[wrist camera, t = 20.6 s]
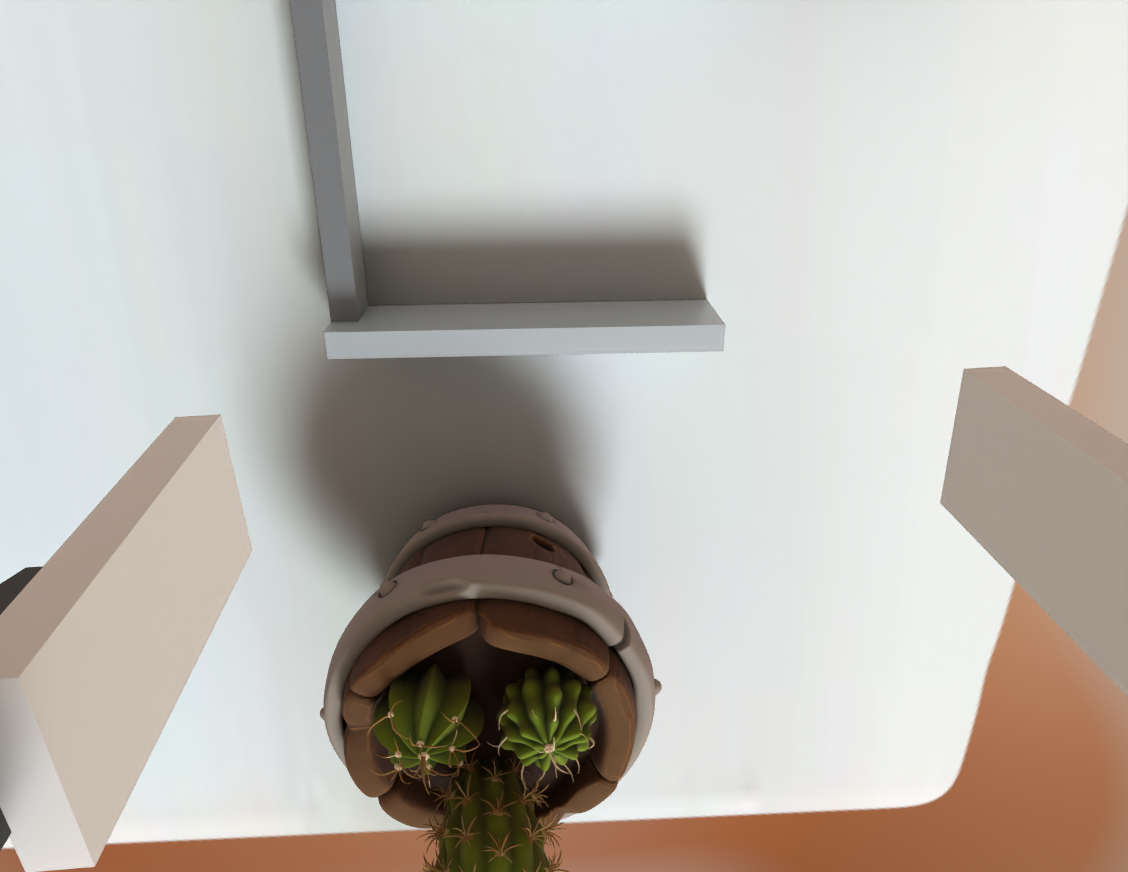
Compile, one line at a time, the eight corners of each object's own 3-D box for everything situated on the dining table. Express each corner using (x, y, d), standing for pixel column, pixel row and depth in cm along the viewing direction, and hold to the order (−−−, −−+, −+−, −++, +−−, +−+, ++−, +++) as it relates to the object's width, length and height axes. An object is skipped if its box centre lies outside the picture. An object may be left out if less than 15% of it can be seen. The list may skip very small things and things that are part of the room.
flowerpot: (348, 460, 42) (217, 766, 24) (647, 467, 43) (734, 768, 25) (363, 683, 49) (267, 1061, 30) (624, 685, 49) (682, 1054, 31)
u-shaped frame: (345, 330, 40) (327, 359, 36) (294, -86, 32) (265, -104, 29) (705, 323, 40) (723, 351, 37) (732, -87, 33) (758, -104, 29)
